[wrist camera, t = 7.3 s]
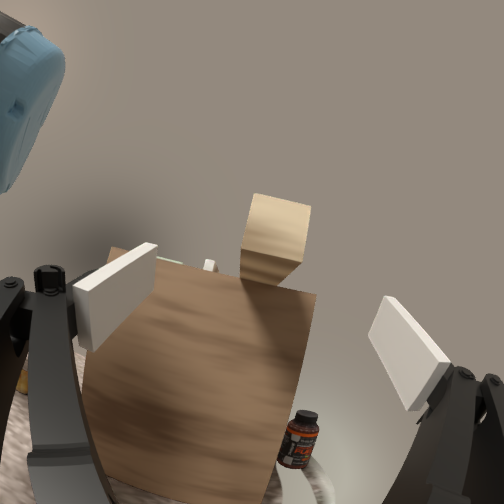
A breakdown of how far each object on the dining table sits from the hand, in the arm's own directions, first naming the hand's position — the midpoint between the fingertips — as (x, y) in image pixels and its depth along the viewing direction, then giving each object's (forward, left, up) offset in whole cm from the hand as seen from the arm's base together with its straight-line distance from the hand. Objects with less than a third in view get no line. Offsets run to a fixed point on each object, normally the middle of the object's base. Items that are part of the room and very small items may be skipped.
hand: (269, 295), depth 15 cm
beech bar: (+17, +6, +3) cm, 18 cm away
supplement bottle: (+35, -2, -27) cm, 44 cm away
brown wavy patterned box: (+21, +14, -27) cm, 37 cm away
